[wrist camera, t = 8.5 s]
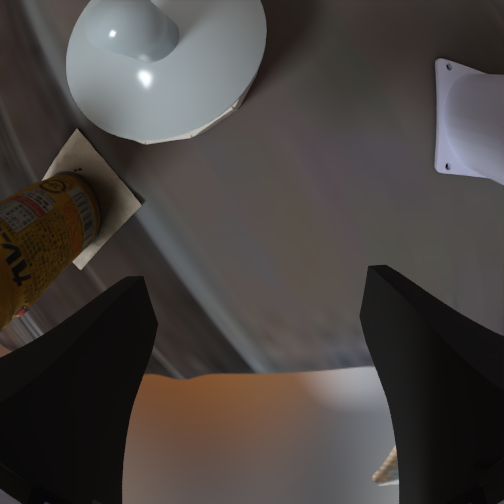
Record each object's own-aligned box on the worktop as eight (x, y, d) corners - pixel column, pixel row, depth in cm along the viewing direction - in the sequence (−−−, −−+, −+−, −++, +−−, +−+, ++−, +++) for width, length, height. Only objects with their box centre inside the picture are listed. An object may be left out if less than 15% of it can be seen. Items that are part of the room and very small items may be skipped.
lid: (266, -44, 8) (268, -95, 4) (265, 135, 13) (268, 148, 8) (81, -11, 8) (31, -33, 4) (77, 149, 13) (19, 171, 9)
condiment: (27, 205, 18) (-76, 284, 7) (78, 127, 15) (-69, 179, 5) (82, 268, 21) (-1, 377, 10) (143, 203, 18) (33, 324, 7)
